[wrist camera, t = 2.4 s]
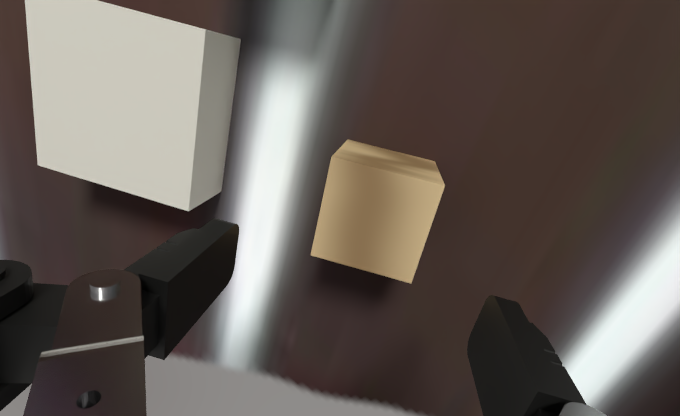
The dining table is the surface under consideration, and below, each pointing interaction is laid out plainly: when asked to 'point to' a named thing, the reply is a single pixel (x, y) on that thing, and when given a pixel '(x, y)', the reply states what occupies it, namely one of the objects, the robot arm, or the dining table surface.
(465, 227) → the dining table surface
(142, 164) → the cream block
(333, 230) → the oak cube
